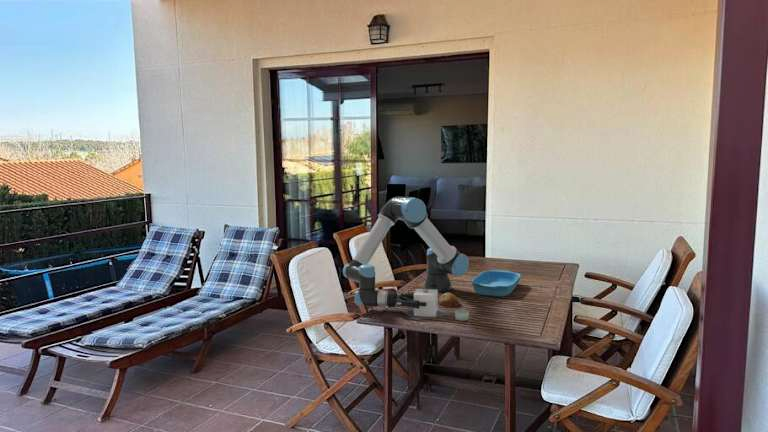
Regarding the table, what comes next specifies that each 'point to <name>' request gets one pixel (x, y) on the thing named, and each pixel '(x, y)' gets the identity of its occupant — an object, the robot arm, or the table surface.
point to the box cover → (426, 296)
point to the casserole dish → (495, 282)
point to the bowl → (461, 314)
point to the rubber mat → (411, 314)
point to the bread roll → (448, 300)
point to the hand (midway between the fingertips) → (435, 300)
